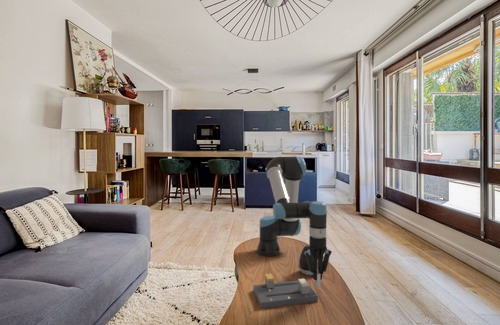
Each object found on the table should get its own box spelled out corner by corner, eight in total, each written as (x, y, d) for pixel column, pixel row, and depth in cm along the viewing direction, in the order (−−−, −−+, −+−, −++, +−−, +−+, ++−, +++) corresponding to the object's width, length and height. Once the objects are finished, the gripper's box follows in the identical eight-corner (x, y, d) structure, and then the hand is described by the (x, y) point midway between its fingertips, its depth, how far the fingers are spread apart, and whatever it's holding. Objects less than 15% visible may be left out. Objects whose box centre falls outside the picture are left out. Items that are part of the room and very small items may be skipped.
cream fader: (298, 288, 123) (298, 279, 123) (304, 288, 123) (304, 278, 123) (302, 294, 118) (302, 284, 118) (308, 293, 118) (308, 283, 118)
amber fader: (265, 283, 128) (265, 274, 128) (271, 282, 128) (271, 273, 128) (267, 288, 123) (267, 278, 123) (274, 288, 124) (274, 278, 123)
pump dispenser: (318, 278, 139) (319, 249, 138) (298, 276, 141) (298, 248, 140) (317, 269, 149) (317, 243, 148) (298, 268, 151) (299, 241, 150)
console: (253, 290, 127) (253, 285, 127) (304, 284, 132) (304, 279, 132) (260, 308, 112) (260, 302, 112) (317, 301, 117) (317, 295, 117)
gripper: (307, 239, 116) (307, 292, 117) (335, 237, 119) (334, 289, 120) (301, 234, 123) (301, 284, 124) (327, 232, 126) (326, 281, 127)
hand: (317, 286), depth 122 cm, fingers closed
